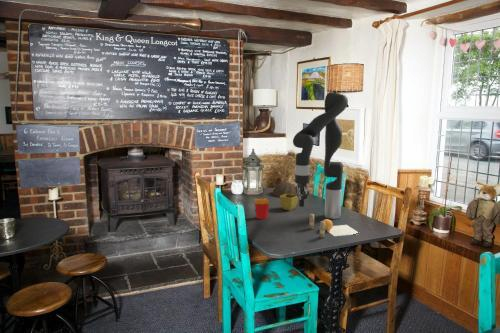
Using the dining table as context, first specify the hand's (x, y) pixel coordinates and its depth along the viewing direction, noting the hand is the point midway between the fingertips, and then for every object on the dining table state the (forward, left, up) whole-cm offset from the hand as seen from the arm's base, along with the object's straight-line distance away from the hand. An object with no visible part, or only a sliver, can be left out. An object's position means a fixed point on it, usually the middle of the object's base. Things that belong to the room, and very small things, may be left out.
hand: (301, 206), depth 203 cm
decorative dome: (-82, +21, -16) cm, 86 cm away
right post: (+7, +9, -15) cm, 19 cm away
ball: (-3, +16, -12) cm, 20 cm away
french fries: (-32, -12, -15) cm, 37 cm away
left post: (-7, +9, -15) cm, 19 cm away
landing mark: (0, +23, -15) cm, 27 cm away
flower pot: (-45, +10, -15) cm, 49 cm away
